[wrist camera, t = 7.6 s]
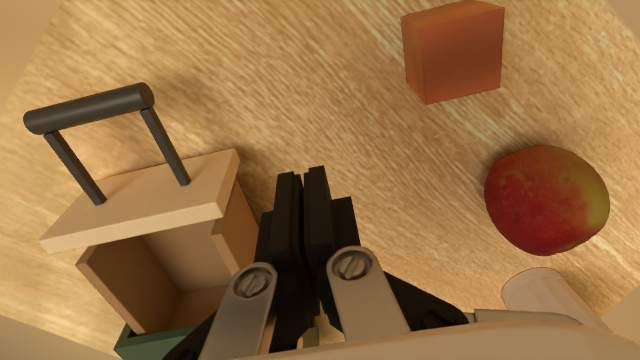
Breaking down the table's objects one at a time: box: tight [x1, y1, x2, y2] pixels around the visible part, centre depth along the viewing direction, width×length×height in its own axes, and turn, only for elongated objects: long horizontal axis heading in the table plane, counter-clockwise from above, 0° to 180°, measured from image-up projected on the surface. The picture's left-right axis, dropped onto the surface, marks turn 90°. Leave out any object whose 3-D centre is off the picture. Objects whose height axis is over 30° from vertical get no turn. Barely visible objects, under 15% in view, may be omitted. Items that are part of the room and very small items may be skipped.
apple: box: [484, 146, 610, 256], centre depth 26 cm, size 8×8×8 cm
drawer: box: [23, 82, 259, 336], centre depth 25 cm, size 20×11×7 cm, turn 13°
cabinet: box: [113, 321, 319, 360], centre depth 32 cm, size 15×13×9 cm
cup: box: [501, 268, 613, 333], centre depth 32 cm, size 8×8×12 cm
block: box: [401, 0, 505, 105], centre depth 21 cm, size 4×4×4 cm
